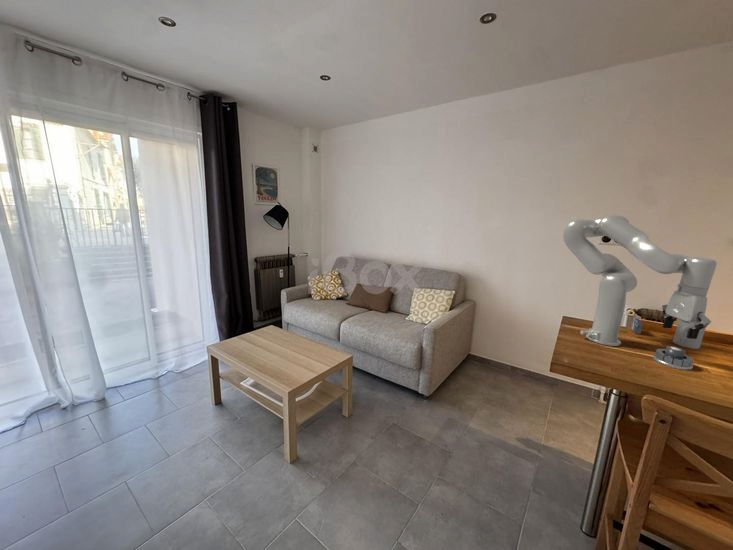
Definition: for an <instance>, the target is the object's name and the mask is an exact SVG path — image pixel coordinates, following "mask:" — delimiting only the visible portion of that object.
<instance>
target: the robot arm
mask: <svg viewBox="0 0 733 550" xmlns="http://www.w3.org/2000/svg"><path fill="white" fill-rule="evenodd" d="M596 237H607V238H609V239H611V240H612V241H614V242H616V243H617V244H618V245H620V246H621V247H623V248H624V249H626V250H627V252H629V253H630V255H633V257H634V258H636V259H637V260H638V261H639V262H641V263H642V264H644V265H646V266H647V267H648V268H650V269H651V270H653V271H655V272H657V273H659V274H662V275H671V274H681V277H680V281H679V283H678V284H677V290H675V291H674V292H673V293H672V294H671V297H670V299H668V300H669V301H668V302H667V303H668V304H667V303H666V304H662V306H661V308H662V314H663V318H664V320H663V322H662V328H664V329H672V328H673V325H674V321H675V319H678V320H683V321H686V322H689V323H690V325H691V327H692V328H689V330H688V333H687V336H686V337H687V338H689V339H697V336H698V333H699V330H700V329H703V328H705V327H706V328H707V327H708V326H709V325H710V324H711V323H712V321H711V319H709V318H708V317H707V316H706V315H705V313H706V311H707V306H708V305H707V304H708V297H707V294H708V291H709V290H710V289H709V288H710V285H711V283H712V280H713V276H714V274H715V271H716V268H717V266H718V265H717V264H718V262H717V261H716V259H712V258H707V257H706V258H705V257H698V256H697V257H696V256H688V255H684V254H678V253H669V252H667V251H665V250H664V249H662V248H660V247H659V246H657V244H655V243H653V242H652V241H651V240H650V238H649V236H648V234H647V233H646V232H645V231H643V230H641V229H639V228H637V227H636V226H634V225H633V224H631V223H630V222H629V220H628V219H627V218H626V217H624V216H622V215H615V214H614V215H607V216H603V217H601V218H596V219H595V218H594V219H575V220H572V221H570V222H568V224H567V225H566V226H565V228H564V230H563V241H564V244H565V246H566V247H567V248H568V249H569V251H570V252H571V253H572V254H573V255H574V256H575V257H576V258H577V260H579V262H580V263H581V264H582V265H583V266H584V267H585V269H587V271H588V272H589V273H591V274H592V275H597V276H598V275H601V276H602V278H601V280H600V281H599V284H598V285H599V287H598V297H597V302H596V309H595V312H594V317H593V322H592V327H590V328H589V329H587V330H584V329H581V330H580V331H579V332H580V333H579V334H581V335H585V337H586V338H587V339H588V340H589V341H591V342H593V343H597V344H600V345H603V346H607V347H608V346H609V347H619V346H621V344H622V341H621V340H619V339H618V337H619V333H620V329H621V325H622V320H623V317H624V313H625V312H624V311H625V307H626V302H627V293H629V292H632V291H633V290H635V289H636V287H637V285H638V278H637V277H636V276H635V274H634V273H632V271H631V270H630V269H629V268H628V267H627V266H626V265H625V264H623V262H622V261H621V260H620V259H619V258H618V257H616V255H613V254H610V253H602V252H601V250H599V248H597V247H596V245H595V244H593V243H592V241H590V240H588V238H596ZM700 322H701V323H700ZM695 323H696V325H695Z"/></svg>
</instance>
